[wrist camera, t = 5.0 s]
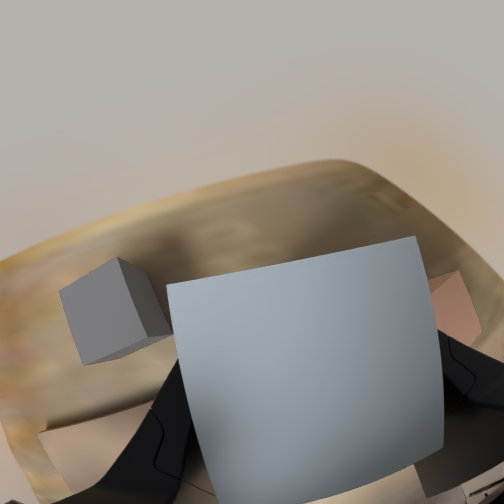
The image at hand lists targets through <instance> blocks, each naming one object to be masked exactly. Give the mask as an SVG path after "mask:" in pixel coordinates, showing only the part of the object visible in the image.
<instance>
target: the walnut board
mask: <svg viewBox="0 0 504 504" xmlns="http://www.w3.org/2000/svg"><path fill="white" fill-rule="evenodd" d="M154 400H155V398H154V399H151V400H148V401H145V402H142V403H139V404H137V405H134V406H131V407H128V408H125V409H121V410H118V411H115V412H112V413H109V414H105V415H102V416H99V417H95V418H92V419H88V420H84V421H80V422H77V423H73V424H69V425H65V426H60V427H56V428H52V429H47V430H44V431H41V432H39V433H36V434H37V436H38V438H39V440H40V441H41V443H42V445H43V447H44V449H45V451H46V452H47V454H48V456H49V457H50V459H51V461H52V462H53V464H54V466H55V467H56V469H57V471H58V472H59V474H60V475H61V477H62V478H63V480H64V481H65V483H66V484H67V485H68V487H69V488H70V490H71V491H72V492H73V494H76V493H79V492H81V491H83V490H85V489H87V488H89V487H91V486H93V485H94V484H96V483H97V482H98V481H99V480H100V479H101V478H102V477H103V476H104V475H105V474H106V473H107V471H108V470H109V469H110V467H111V466H112V464H113V463H114V462H115V460H116V459H117V458H118V456H119V455H120V454H121V452H122V451H123V450H124V448H125V447H126V446H127V444H128V443H129V441H130V440H131V438H132V437H133V435H134V434H135V432H136V431H137V429H138V428H139V426H140V424H141V423H142V421H143V419H144V417H145V416H146V414H147V412H148V410H149V409H151V405H152V403H153V402H154Z"/></svg>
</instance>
